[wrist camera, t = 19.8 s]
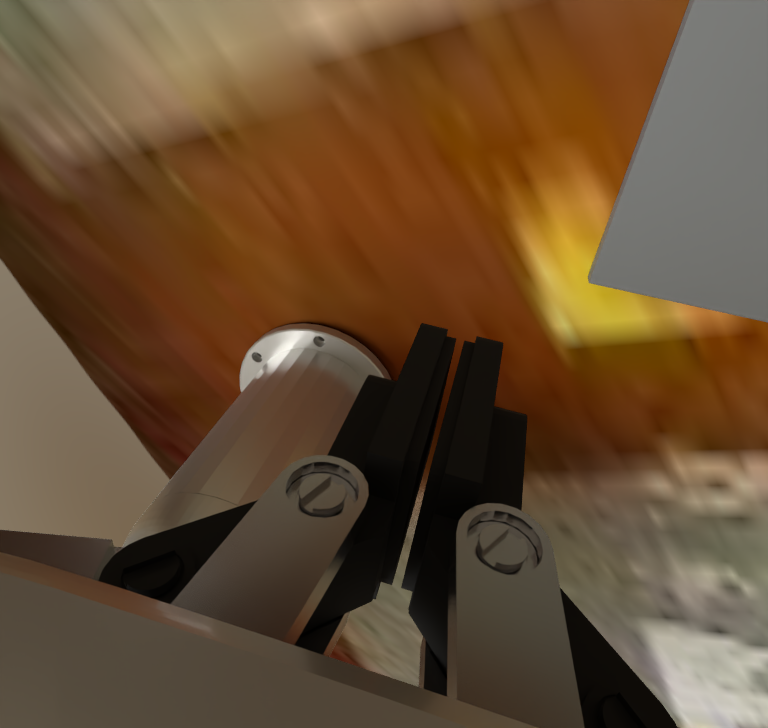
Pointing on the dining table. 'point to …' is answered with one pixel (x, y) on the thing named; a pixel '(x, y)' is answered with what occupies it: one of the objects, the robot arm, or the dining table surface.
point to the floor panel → (700, 172)
